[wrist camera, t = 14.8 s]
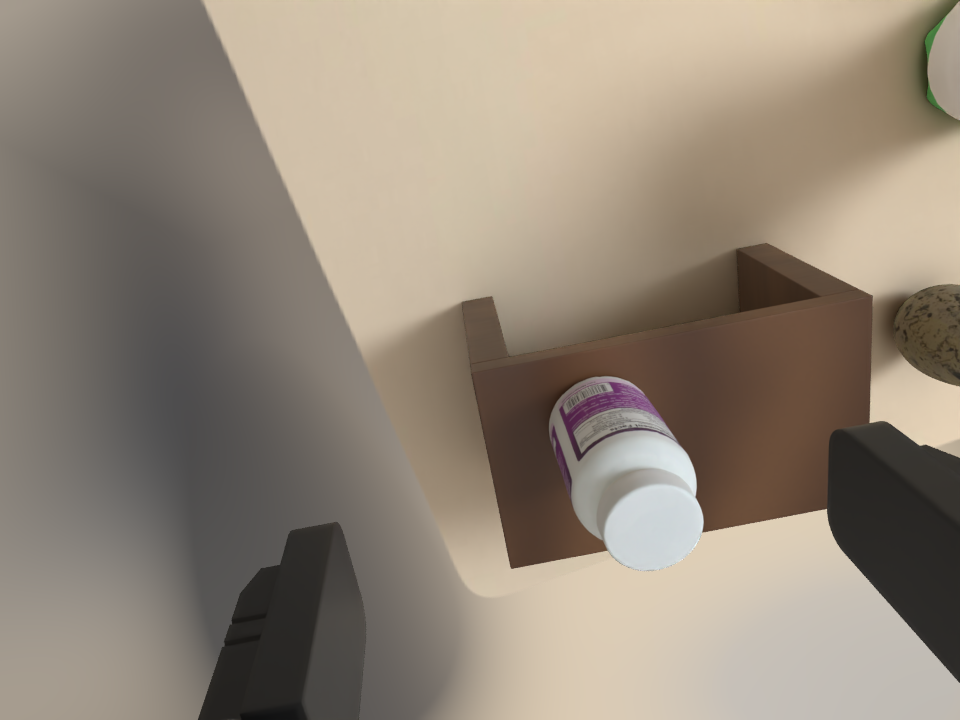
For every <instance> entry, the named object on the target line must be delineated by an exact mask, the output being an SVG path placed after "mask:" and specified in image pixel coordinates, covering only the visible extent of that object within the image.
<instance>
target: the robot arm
mask: <svg viewBox="0 0 960 720" xmlns="http://www.w3.org/2000/svg"><path fill="white" fill-rule="evenodd" d="M827 514H828V521H829V525H830V528H831V531H832V534H833V536H834V538H835V540H836V542H837V544H838V545H839V547H840V548H841V550H842V551H843V552H844V553H845V554H846V555H847V556H848V558H849V559H850V560H851V561H852V562H853V563H854V564H855V566H856V567H857V568H858V569H859V570H860V571H861V572H862V573H863V575H864V576H866V578H867V579H868V580H869V581H870V582H871V584H872V585H873V586H874V587H875V588H876V589H877V590H878V591H879V593H880V594H881V595H882V596H883V597H884V598H885V599H886V600H887V602H888V603H889V604H890V605H891V606H892V607H893V608H894V609H895V611H896V612H898V614H899V615H900V616H901V617H902V618H903V619H904V621H905V622H906V623H907V624H908V625H909V626H910V627H911V629H912V630H913V631H914V632H915V633H916V634H917V635H918V636H919V638H920V639H921V640H922V641H923V642H924V643H925V644H926V645H927V647H928V648H929V649H930V650H931V651H932V652H933V653H934V654H935V656H937V658H938V659H939V660H940V661H941V662H942V663H943V665H944V666H946V668H947V669H948V670H949V671H950V673H952V675H953V676H954V677H955V678H956V679H957V680H958V682H959V683H960V458H958V457H956V456H953V455H951V454H948V453H946V452H943V451H941V450H938V449H935V448H933V447H930V446H928V445H922V446H919V445H918V444H916V443H915V442H914V441H912V440H911V439H910V438H908V437H907V436H906V435H904V434H903V433H902V432H900V431H899V430H898V429H896V428H895V427H894V426H892V425H891V424H889V423H888V422H885V421H879V422H874V423H868V424H863V425H858V426H852V427H847V428H842V429H837V430H835V431H833V432H832V434H831V436H830V440H829V456H828V495H827ZM224 642H225V647H222V650H221V653H220V656H219V658H218V662H217V664H216V668H215V670H214V673H213V676H212V679H211V682H210V685H209V689H208V691H207V694H206V697H205V700H204V703H203V706H202V709H201V712H200V715H199V718H198V720H359V712H360V700H361V689H362V677H363V667H364V654H365V644H366V621H365V613H364V606H363V601H362V597H361V593H360V590H359V586H358V583H357V579H356V576H355V573H354V569H353V565H352V562H351V558H350V555H349V552H348V548H347V545H346V541H345V538H344V534H343V531H342V529H341V526H340V525H339V523H338V522H334V523H328V524H324V525H318V526H313V527H307V528H302V529H296V530H292V531H290V533H289V535H288V539H287V542H286V546H285V550H284V553H283V557H282V560H281V564H280V565H277V566H272V567H266V568H261V569H260V571H259V572H258V573H257V574H256V575H255V577H254V578H253V579H252V580H251V581H250V582H249V584H248V585H247V586H246V587H245V589H244V590H243V591H242V592H241V593H240V596H239V599H238V602H237V605H236V608H235V611H234V614H233V617H232V625H230V626H229V629H228V632H227V635H226V638H225V641H224Z"/></svg>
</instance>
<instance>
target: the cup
mask: <svg viewBox="0 0 960 720" xmlns="http://www.w3.org/2000/svg"><path fill="white" fill-rule="evenodd" d="M925 46H926V53H927V61H928V70H927V75H928V88H927V89H928V91H927V99H928V100H929V102H930V103H931V104H932V105H934V106H935V107H936V108H938V109H940V110H942V111H944V112H945V113H947V114H948V115H950V116H952V117H954V118H956V119H958V120H959V121H960V1H959V2H958V3H957V4H956V5H955V6H954V8H953V9H952V10H951V11H950V13H949V14H947V15H946V16H945V17H944V18H943V19H942V20H941V21H940V22H939V23H938V24H937V26H936V27H934V28H933V29H932V30H931V31H930V32H929V33H928V35H927V37H926V39H925Z"/></svg>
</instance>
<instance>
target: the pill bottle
mask: <svg viewBox="0 0 960 720" xmlns="http://www.w3.org/2000/svg"><path fill="white" fill-rule="evenodd" d="M549 434H550V440H551V443H552V447H553V450H554V453H555V455H556V459H557V461H558V464H559V467H560V470H561V473H562V476H563V479H564V482H565V485H566V488H567V491H568V494H569V497H570V500H571V503H572V506H573V508H574V511H575V513H576V515H577V517H578V519H579V520H580V522H581V523H582V524H583V526H584V527H585V528H586V529H587V530H588V531H589V532H590V533H592V534H593V535H594V536H596V537H597V538H599V539H601V540H603V542H604V544H605V546H606V548H607V550H608V552H609V553H610V554H611V556H612V557H613V558H614V559H615V560H616V561H618V562H619V563H620V564H622V565H624V566H626V567H628V568H631V569H635V570H640V571H654V570H660V569H663V568H667V567H669V566H672V565H674V564H676V563H677V562H679V561H681V560H682V559H684V558H685V557H686V556H687V555H688V554H689V553H690V552H691V551H692V550H693V549H694V547H695V546H696V544H697V543H698V541H699V539H700V537H701V534H702V531H703V524H704V521H703V514H702V510H701V507H700V505H699V503H698V501H697V499H696V498H695V496H696V489H697V483H696V475H695V471H694V468H693V465H692V463H691V461H690V458H689V456H688V454H687V453H686V451H685V450H684V449H683V448H682V446H681V445H680V444H679V442H678V441H677V439H676V438H675V436H674V435H673V434H672V432H671V431H670V429H669V428H668V426H667V425H666V423H665V422H664V420H663V419H662V417H661V416H660V414H659V413H658V412H657V410H656V409H655V408H654V406H653V405H652V403H651V402H650V401H649V400H648V398H647V397H646V396H645V394H644V393H643V392H642V391H641V390H640V389H639V388H637V387H636V386H635V385H634V384H632V383H630V382H629V381H626V380H623V379H621V378H617V377H610V376H602V377H592V378H589V379H586V380H583V381H581V382H579V383H577V384H575V385H574V386H572V387H571V388H570V389H569V390H567V391H566V392H565V393H564V394H563V395H562V396H561V397H560V399H559V400H558V401H557V402H556V404H555V406H554V408H553V410H552V413H551V416H550V421H549Z"/></svg>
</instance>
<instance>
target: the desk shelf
mask: <svg viewBox="0 0 960 720" xmlns="http://www.w3.org/2000/svg"><path fill="white" fill-rule="evenodd" d="M737 264H738V285H739V306H740V313H735V314H730V315H725V316H719V317H714V318H709V319H704V320H699V321H694V322H688V323H683V324H678V325H673V326H668V327H662V328H657V329H652V330H647V331H642V332H636V333H631V334H626V335H621V336H616V337H611V338H605V339H600V340H595V341H590V342H585V343H579V344H574V345H569V346H564V347H559V348H553V349H548V350H543V351H538V352H533V353H528V354H522V355H517V356H512V357H509V356H508V352H507V349H506V345H505V341H504V338H503V334H502V330H501V327H500V323H499V320H498V316H497V312H496V309H495V305H494V301H493V298H492V296H490V297H485V298H480V299H475V300H470V301H465V302H462V308H463V315H464V323H465V330H466V338H467V345H468V353H469V360H470V368H471V375H472V380H473V385H474V390H475V394H476V399H477V404H478V409H479V414H480V419H481V424H482V429H483V434H484V439H485V444H486V449H487V454H488V458H489V463H490V468H491V473H492V478H493V483H494V488H495V493H496V498H497V503H498V508H499V513H500V518H501V523H502V527H503V532H504V537H505V542H506V547H507V552H508V557H509V562H510V567H511V569H513V568H518V567H524V566H529V565H534V564H539V563H545V562H550V561H555V560H560V559H566V558H571V557H576V556H582V555H587V554H592V553H597V552H603V551H608V550H607V548H606V546H605V544H604V542H603V540H601V539H599V538H597V537H596V536H594V535H593V534H592V533H590V532H589V531H588V530H587V529H586V528H585V527H584V526H583V524H582V523H581V522H580V520H579V519H578V517H577V515H576V513H575V511H574V508H573V506H572V503H571V500H570V497H569V494H568V491H567V488H566V485H565V482H564V479H563V476H562V473H561V470H560V467H559V464H558V461H557V459H556V455H555V453H554V450H553V447H552V443H551V440H550V434H549V421H550V416H551V413H552V410H553V408H554V406H555V404H556V402H557V401H558V400H559V399H560V397H561V396H562V395H563V394H564V393H565V392H566V391H567V390H569V389H570V388H571V387H572V386H574V385H575V384H577V383H579V382H581V381H583V380H586V379H589V378H592V377H602V376H610V377H617V378H621V379H623V380H626V381H629V382H630V383H632V384H634V385H635V386H636V387H637V388H639V389H640V390H641V391H642V392H643V393H644V394H645V396H646V397H647V398H648V400H649V401H650V402H651V403H652V405H653V406H654V408H655V409H656V410H657V412H658V413H659V414H660V416H661V417H662V419H663V420H664V422H665V423H666V425H667V426H668V428H669V429H670V431H671V432H672V434H673V435H674V436H675V438H676V439H677V441H678V442H679V444H680V445H681V446H682V448H683V449H684V450H685V451H686V453H687V454H688V456H689V458H690V461H691V463H692V465H693V468H694V471H695V475H696V483H697V489H696V496H695V498H696V499H697V501H698V503H699V505H700V507H701V510H702V514H703V521H704V524H703V531H702V533H703V532H708V531H713V530H718V529H723V528H729V527H734V526H739V525H745V524H750V523H755V522H760V521H766V520H770V519H776V518H781V517H787V516H792V515H797V514H802V513H807V512H813V511H818V510H823V509H827V495H828V456H829V440H830V436H831V434H832V432H833V431H835V430H837V429H842V428H847V427H852V426H858V425H863V424H868V423H869V420H870V381H871V343H872V304H873V296H872V295H870V294H868V293H866V292H864V291H862V290H859V289H857V288H855V287H853V286H851V285H849V284H847V283H845V282H843V281H841V280H839V279H837V278H835V277H833V276H831V275H829V274H827V273H825V272H823V271H821V270H819V269H817V268H815V267H813V266H811V265H809V264H807V263H805V262H803V261H801V260H799V259H797V258H795V257H793V256H791V255H789V254H787V253H785V252H783V251H781V250H779V249H777V248H775V247H773V246H771V245H769V244H767V243H765V244H760V245H754V246H749V247H744V248H739V249H737Z"/></svg>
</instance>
